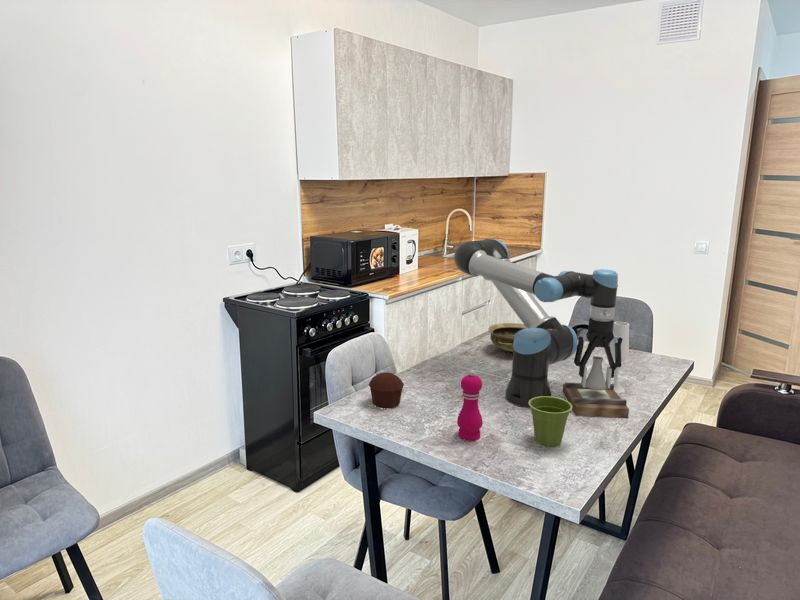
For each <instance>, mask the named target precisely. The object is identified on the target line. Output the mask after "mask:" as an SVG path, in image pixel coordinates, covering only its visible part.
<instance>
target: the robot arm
mask: <svg viewBox="0 0 800 600" xmlns="http://www.w3.org/2000/svg"><path fill="white" fill-rule="evenodd" d="M509 253H510V251H509V249H508V247H507V244H505V243H504V242H503V241H502V240H499V239H498V238H497V239H496V238H485V239H480V240H479V239H478V240H468V241H464V242H463V243H461V244H459V245H458V247H457V248H456V250H455V251H454V254H453V261H454V264H455V266H456V268H457V269H458V270H459V271H460V272H462V273H463V274H466V275H469V276H472V277H476V278H477V277H479V276H481V277H483V279H484V280H485V281H491V283H492V284H493V285H494V287H495V288H496V289H497V291H499V293H500V295H501V296H502V297H503V299H505V301H506V302H507V304H508V305H509V306H510V308H511V309H512V311H513V312H514V313H515V314H516V315H517V317H518V318H519V319H520V321H521V323H522V324H524V325H525V326H526V327H527V328H526V329H522V330H520V331H518V332H517V333H516V334H515V337H514V342H513V355H512V364H511V377H510V379H509V381H508V384H507V386H506V388H505V393H504V398H505V400H506V401H507V402H509V403H510V404H512V405H515V406H517V407H522V408H528V409H529V408H530V409H531V407H530V406H529V400H531V399H532V398H535V397H540V396H551V397H553V396H552V390H551V388H550V384H549V380H548V376H549V366H550V365H553V364H556V363H559V362H562V361H566V360H567V359H568V358H571V357H572V356H573V355H574V354H575V356H574V358H573V359H574V360H573V363H574V365H575V366H576V367H579V370H578V375H579V377H580V378H581V379H580V380H581V382H580V383H581V385H582V387H583V388H585V386H586V379H587V376H588V375H587V373H588V372H587V371H588V368H587V367H586V365H587V363H588V361H589V359H590V357H591V355H592V353H593V351H595V349H596V348H604V352H605V356H606V358H607V362H608V365H609V366H606V371H605V372H606V373H605V383H606V386H607V388H610V384H612V382H611V381H612V379H614V375H615V369H616V368H617V367H619V368H621V367H622V363H621V343H622V340H623V339H622V338H621V337H620V336H614V335H613V327H614V323H615V320H614V319H615V313H616V301H617V294H618V293H617V292H618V287H619V284H618V281H619V279H618V278H619V277H618V275H619V273H618V272H617V271H616V270H612V269H604V268H603V269H602V268H601V269H599V268H598V269H594V270H593V272H592V274H589V273H588V274H587V273H583V272H576V271H573V270H569V271H568V270H563V271H560V272H559V273H558V275H552V274H548V273H544V272H542V271H539V270H536V269H533V268H529V267H527V266H523V265H520V264H517V263H514V262H512V261H511V260H510V254H509ZM535 297H536V298H537V299H536V298H535ZM572 297H583V298H587V299H590V305H589V318H588V328H587V332H586V334H584V335H583V334H582V335H581V334H578V335H577V333H576V331H575V330H574V329H573V328H572V327H571V326H569V325H566V324H562V323H561V322H560V321H559V320H558V319H557V317H556V316H553V315H552V316H550V315H549V314H548V313H547V312H546V310H545V309H544V308H543V307H542V306H541V304H540V303H539V302H538V301H540V302H542V303H553V302H557V301H560V300H563V299H567V298H572ZM613 339H614V342H615V362H614V360H613V357H612V354H611V351H610V342H611V341H612V340H613ZM586 340H588V344H587V347H586V350H585V351H584V353H583V350H584V345H585V342H586ZM582 355H583V356H582Z"/></svg>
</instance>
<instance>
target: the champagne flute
mask: <svg viewBox="0 0 800 600" xmlns="http://www.w3.org/2000/svg"><path fill="white" fill-rule="evenodd" d="M613 335H614V336H620V337H621V338H622V339H623V340H622V343H621V364H622V363H623V362H626V360H627V359H628V357H629V356H630V323H628V322H624V321H614V326H613ZM609 346H610V351H611V354H612V357H613V360H614V363H615V342H614V339H613V340H612V341H611V342H610V343H609ZM619 369H620V367H617V368H616V369H615V372H614V378H613V383H612V384H613V385H614V391H615V392H616V393H617V394H622V393H625V392H626V391H625V388H623V387H621V386H620V385H619V384H618V380H619V371H620V370H619Z"/></svg>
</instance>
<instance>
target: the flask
mask: <svg viewBox="0 0 800 600" xmlns="http://www.w3.org/2000/svg"><path fill="white" fill-rule="evenodd" d="M592 360H593V362H592V367H591V369H590V371H589V373H588V375H587V376H586V386H585V387H586V388H589V389H592V390H604V389H606V388H607V386H606V383H605V382H606V378H605V376H604V372H603V366H602V365H603V364H602V363H603V361H604V357H602V356H593V357H592Z"/></svg>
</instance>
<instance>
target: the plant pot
mask: <svg viewBox="0 0 800 600" xmlns="http://www.w3.org/2000/svg"><path fill="white" fill-rule="evenodd" d="M529 406H530V407H531V408H530V412H531V415H532V423H533V433H534V439H535V442H537V443H538V444H539V445H543V446H546V447H557V446H559V445H561V443H562V441H563V436H564V432H565V429H566V424H567V420H568V418H569V416H570V411H573V410H572V404H571V403H570V402H568V401H567V399H564V398H561V397H558V396H557V397H556V396H552V397H551V396H540V397H535V398H532V399H531V400H529Z"/></svg>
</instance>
